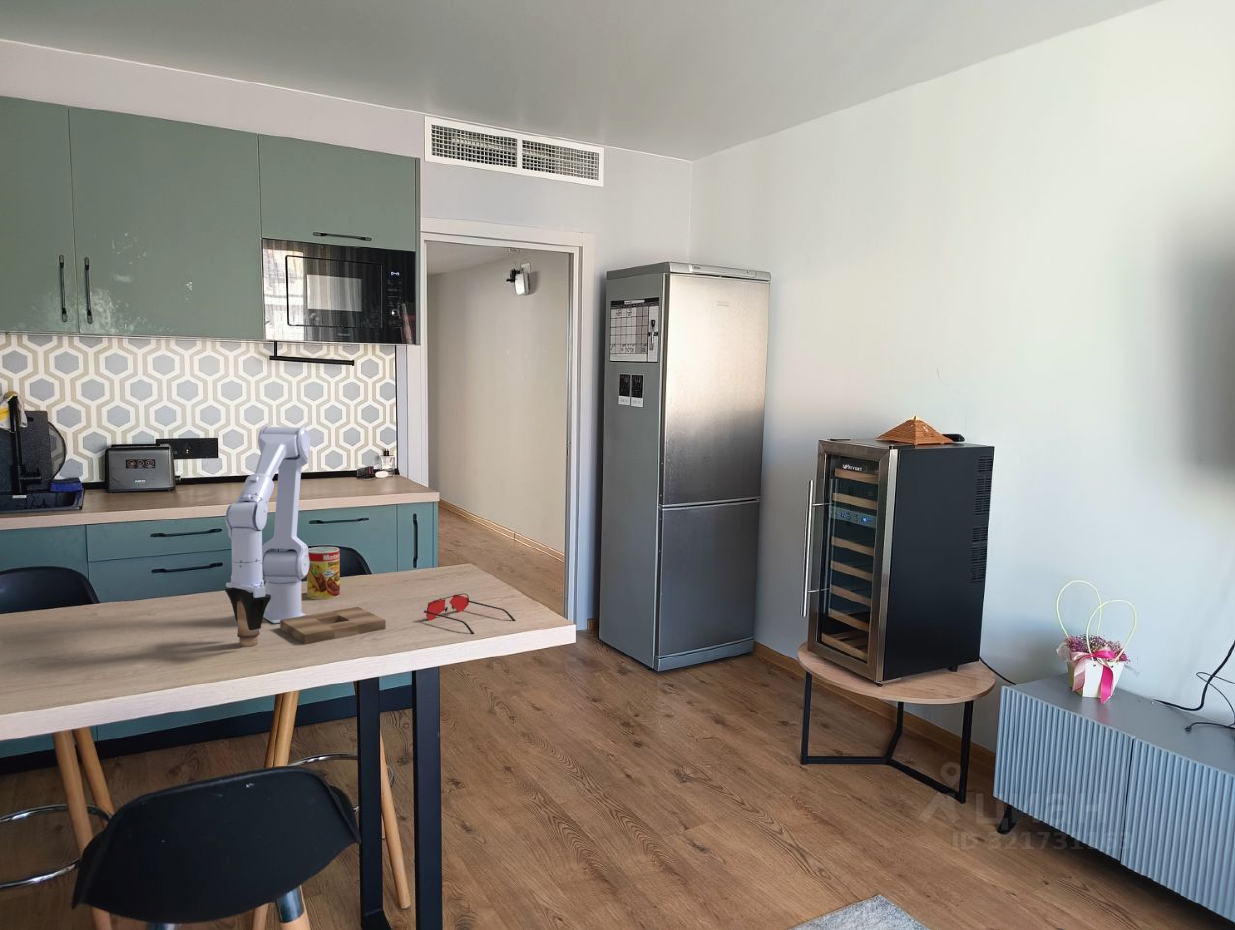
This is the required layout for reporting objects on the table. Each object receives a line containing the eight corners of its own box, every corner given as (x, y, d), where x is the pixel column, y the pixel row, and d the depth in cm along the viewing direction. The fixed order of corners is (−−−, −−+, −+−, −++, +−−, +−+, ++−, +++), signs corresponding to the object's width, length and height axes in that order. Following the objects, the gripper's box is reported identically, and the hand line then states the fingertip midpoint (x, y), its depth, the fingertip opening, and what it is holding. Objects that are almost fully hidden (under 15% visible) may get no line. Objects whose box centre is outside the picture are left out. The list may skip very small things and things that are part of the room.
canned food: (333, 599, 205) (333, 552, 204) (302, 599, 205) (301, 552, 204) (344, 592, 213) (343, 546, 212) (314, 591, 213) (313, 546, 212)
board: (280, 628, 180) (280, 619, 180) (357, 614, 192) (357, 606, 192) (305, 644, 170) (305, 634, 170) (385, 628, 182) (385, 619, 182)
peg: (234, 643, 169) (233, 601, 168) (255, 639, 172) (254, 598, 171) (241, 648, 166) (240, 605, 165) (262, 644, 169) (261, 602, 168)
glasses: (466, 610, 200) (466, 590, 200) (516, 622, 191) (516, 601, 190) (422, 622, 189) (422, 601, 189) (473, 636, 180) (473, 614, 179)
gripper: (215, 556, 170) (216, 620, 171) (238, 568, 159) (239, 636, 161) (250, 552, 175) (251, 614, 176) (275, 564, 164) (276, 630, 165)
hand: (248, 624), depth 169 cm, fingers open, 7 cm apart
